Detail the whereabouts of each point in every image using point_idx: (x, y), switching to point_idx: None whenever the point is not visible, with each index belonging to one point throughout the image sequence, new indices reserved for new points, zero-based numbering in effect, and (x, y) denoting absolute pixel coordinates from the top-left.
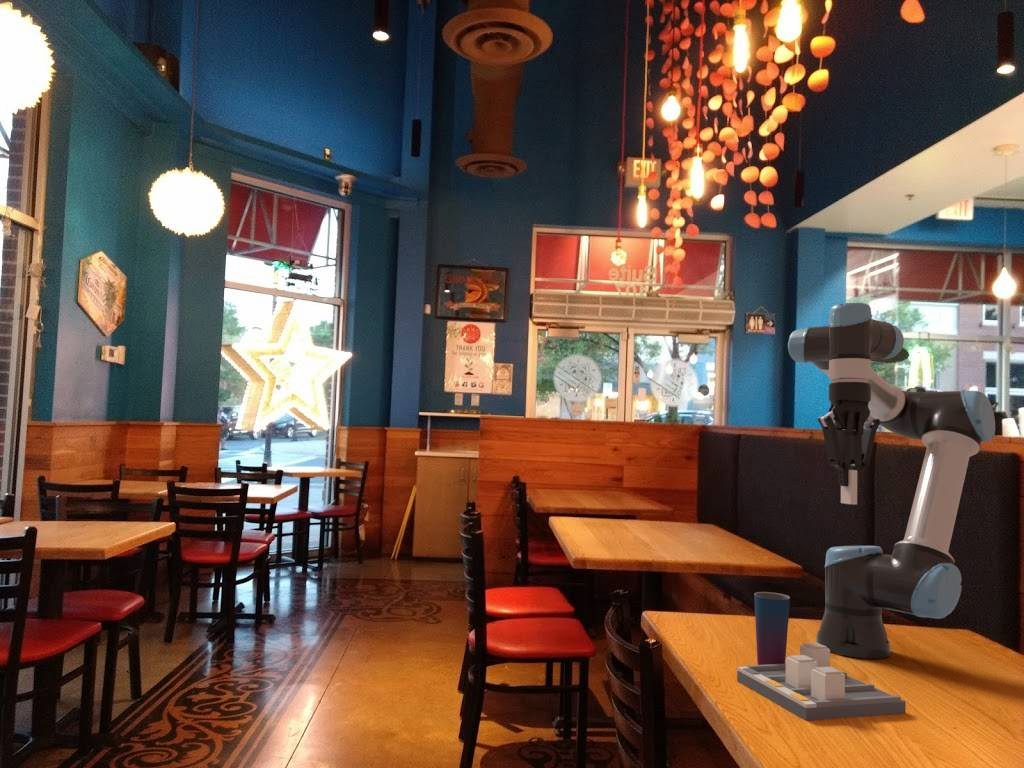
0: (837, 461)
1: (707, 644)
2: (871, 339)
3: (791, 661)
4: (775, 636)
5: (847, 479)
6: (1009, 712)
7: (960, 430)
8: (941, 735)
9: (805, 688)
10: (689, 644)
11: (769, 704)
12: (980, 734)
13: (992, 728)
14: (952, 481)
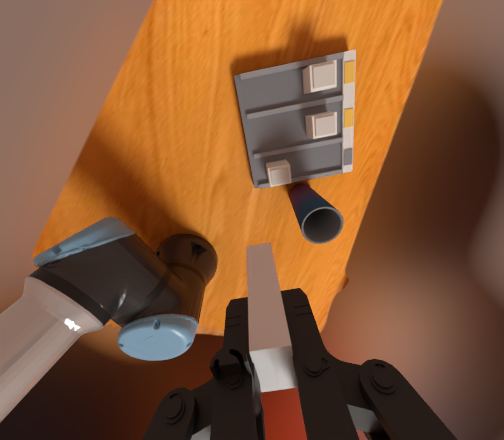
0: (409, 386)
1: (314, 263)
2: None
3: (336, 124)
4: (314, 193)
5: (289, 313)
6: (120, 83)
7: None
8: (233, 6)
9: (327, 100)
10: (330, 262)
11: (355, 102)
12: (188, 10)
13: (165, 30)
14: None
